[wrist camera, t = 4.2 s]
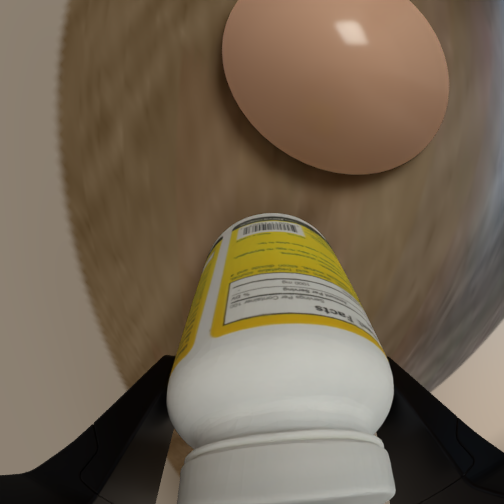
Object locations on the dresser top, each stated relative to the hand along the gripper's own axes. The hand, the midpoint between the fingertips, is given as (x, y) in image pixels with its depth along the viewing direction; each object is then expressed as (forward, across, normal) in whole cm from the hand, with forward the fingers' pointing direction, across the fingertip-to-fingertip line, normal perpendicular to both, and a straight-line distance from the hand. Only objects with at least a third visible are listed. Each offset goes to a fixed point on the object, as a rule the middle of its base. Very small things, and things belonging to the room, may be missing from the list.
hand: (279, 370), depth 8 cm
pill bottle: (+6, 0, 0) cm, 6 cm away
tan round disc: (+7, -3, -10) cm, 13 cm away
